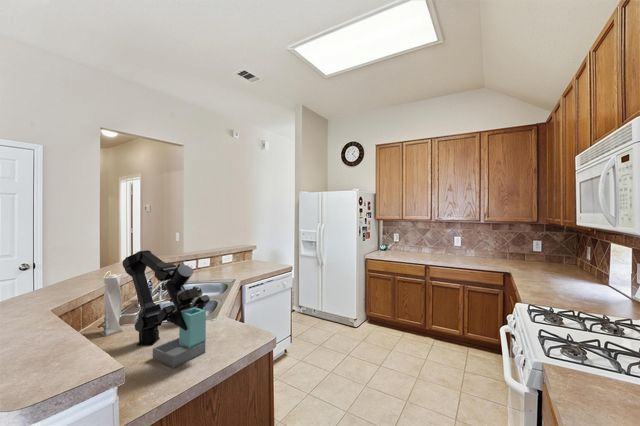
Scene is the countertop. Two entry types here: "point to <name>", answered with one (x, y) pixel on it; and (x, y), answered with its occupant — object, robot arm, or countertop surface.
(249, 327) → the countertop surface
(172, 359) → the gray square tray
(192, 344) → the teal square planter
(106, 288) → the skyscraper
